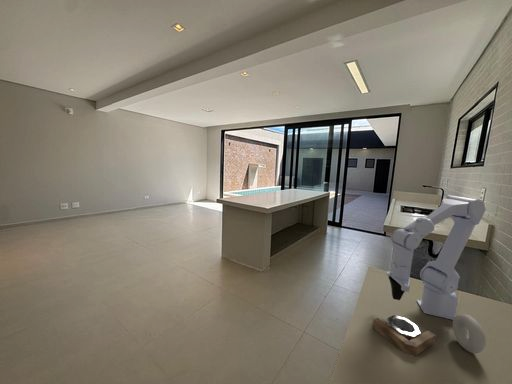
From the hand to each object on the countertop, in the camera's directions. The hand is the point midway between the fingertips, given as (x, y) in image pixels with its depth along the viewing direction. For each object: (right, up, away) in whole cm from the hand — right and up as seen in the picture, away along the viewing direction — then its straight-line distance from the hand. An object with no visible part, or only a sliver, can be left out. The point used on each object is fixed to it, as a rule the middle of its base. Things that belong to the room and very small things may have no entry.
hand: (396, 298), depth 77 cm
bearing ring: (-4, -7, -9) cm, 12 cm away
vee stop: (-5, -8, -12) cm, 15 cm away
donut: (+13, -9, -12) cm, 20 cm away
